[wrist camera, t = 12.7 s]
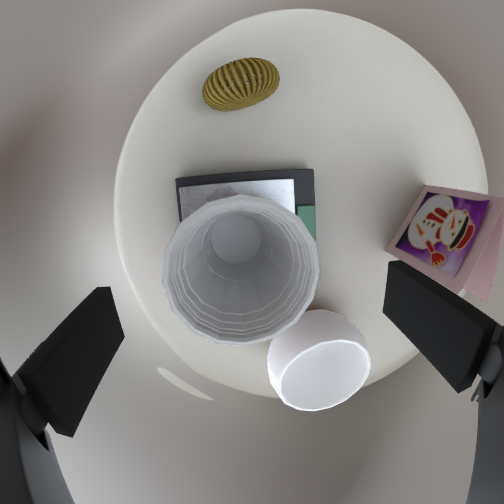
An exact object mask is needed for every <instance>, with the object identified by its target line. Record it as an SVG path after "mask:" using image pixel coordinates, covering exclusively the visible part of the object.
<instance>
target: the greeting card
mask: <svg viewBox="0 0 504 504" xmlns="http://www.w3.org/2000/svg"><path fill="white" fill-rule="evenodd" d="M503 224H504V198H500V197H495V196H491V195H486V194H480V193H475V192H469V191H463V190H457V189H450V188H444V187H437V186H429V185H424V187H423V189H422V191H421V193H420V194H419V196H418V198H417V200H416V202H415V203H414V205H413V207H412V208H411V210H410V212H409V214H408V215H407V217H406V219H405V220H404V222H403V223H402V225H401V227H400V228H399V230H398V232H397V233H396V235H395V236H394V238H393V239H392V241H391V242H390V244H389V246H388V247H387V249H386V250H385V251H386V252H388V253H389V254H391V255H393V256H395V257H397V258H398V259H400V260H402V261H404V262H405V263H407V264H409V265H411V266H412V267H414V268H416V269H417V270H419V271H421V272H422V273H424V274H426V275H427V276H429V277H431V278H432V279H434V280H436V281H437V282H439V283H441V284H442V285H444V286H445V287H447V288H449V289H450V290H452V291H453V292H455V293H457V294H459V292H460V291H461V289H462V288H464V289H465V290H467V291H468V292H470V293H472V294H473V295H475V296H477V297H478V298H480V299H481V300H483V301H485V302H486V303H488V302H489V298H490V294H491V290H492V286H493V282H494V277H495V274H496V269H497V263H498V259H499V253H500V247H501V240H502V233H503Z"/></svg>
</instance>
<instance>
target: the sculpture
mask: <svg viewBox="0 0 504 504" xmlns="http://www.w3.org/2000/svg"><path fill="white" fill-rule="evenodd" d="M255 75H256V76H255ZM261 75H262V76H261ZM247 79H248V80H249V81H250V83H251V87H250V85H249V83H248V80H247ZM279 80H280V78H279V73H278V70H277V68H276V67H275V66H274V65H273V64H272V63H271V62H269V61H266V60H264V59H261V58H244V59H239V60H235V61H233V63H232V62H230V63H229V64H225V65H224V66H221V67H220V68H218V69H216V70H215V71H214V72H212V73H211V74H210V75H209V77H208V78H207V79H206V81H205V83H204V85H203V90H202V93H203V97H204V100H205V102H206V103H207V104H208V105H209V106H210V107H212V108H213V109H215V110H218V111H232V110H238V109H242V108H245V107H248V106H251V105H253V104H256V103H258V102H260V101H262V100H264V99H266V98H268V97H269V96H270V95H272V94H273V93H274V92H275V90H276V89H277V87H278V85H279ZM233 81H234V83H233ZM255 81H256V82H255ZM261 81H262V82H261ZM244 82H245V84H244ZM256 83H257V85H256ZM220 86H221V87H220ZM228 86H230V87H231V88H230V89H231V90H230V89H229V87H228ZM224 89H225V92H224ZM238 90H239V91H238ZM219 93H220V94H221V95H220V94H219ZM235 94H236V95H237V96H236V95H235Z"/></svg>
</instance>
